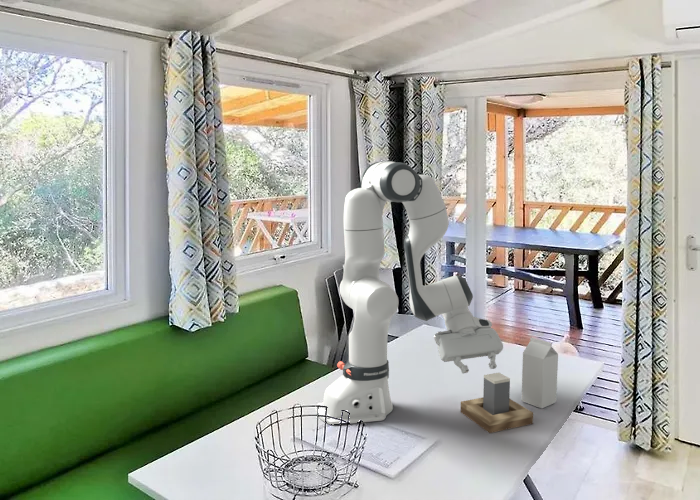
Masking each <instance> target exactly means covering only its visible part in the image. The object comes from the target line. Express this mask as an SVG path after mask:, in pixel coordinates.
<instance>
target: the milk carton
mask: <svg viewBox="0 0 700 500" xmlns="http://www.w3.org/2000/svg"><path fill="white" fill-rule="evenodd" d="M552 344H553V343H552V342H549V341H546V340H542V339H538V338H536V337H535V338H534V337H530V341H529V343H528V344H527V345H526V347H525V349H524V350H523V352H522V369H521V370H522V372H521V375H522V376H521V401H522V402H524V403H525V404H529V405H532V406H534V407H536V408H538V409H544V408H546V407H549V406H551V405H553V404H555V403H557V394H558V393H557V390H558V387H557V386H558V370H559V369H558V368H559V352H557V351H556V350H555V349H554V347H553V346H552Z"/></svg>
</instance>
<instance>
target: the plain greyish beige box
mask: <svg viewBox="0 0 700 500" xmlns="http://www.w3.org/2000/svg"><path fill="white" fill-rule="evenodd" d="M510 386H511V378H510V377H508V376H506V375H504V374H502V373H501V372H494V373H487V374H484V375H483V397H482V398H483V409H484V410H486V411H487V412H489V413H490V414H492V415H496V414H501V413H506V412H509V399H510V395H511V394H510V393H511V392H510V391H511V387H510Z"/></svg>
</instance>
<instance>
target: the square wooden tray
mask: <svg viewBox="0 0 700 500" xmlns="http://www.w3.org/2000/svg"><path fill="white" fill-rule="evenodd" d="M460 413H461V414H462V415H463V416H466V418H468V419H469V420H471V421H472V422H473V423H474V424H476V425H478V426H479V427H480V428H482V429H483V430H484V431H486V432H487V433H489V434H492V433H497V432H501V431H506V430H510V429H515V428H520V427H525V426H529V425H533V424H534V411H532V410H530V409H528V408H526V407H524V406H523V405H521V404H519V403H518V402H516V401H514V400H513V399H511V398H509V412H506V413H501V414H496V415H492V414H490V413H489V412H487V411H486V410H484V409H483V397H478V398H473V399H467V400H463V401H462V400H461V401H460Z"/></svg>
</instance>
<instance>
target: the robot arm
mask: <svg viewBox="0 0 700 500" xmlns="http://www.w3.org/2000/svg"><path fill="white" fill-rule="evenodd" d="M387 202H389V203H391V202H394V203H402V204H403V206H404V208H405V211H406V216H407V218H408V221H409V230H408V234H407V236H406V237H405V238H404V241H403V250H404V259H405V261H404V262H405V268H406V274H407V282H408V284H407V285H408V291H409V293H408V295H409V299H408V300H409V301H408V302H409V308H410V311H411V313H412V314H413V316H414V317H415V318H417V319H419V320H421V321H425V322H427V321H429V320H432V319H434V318H437V316H438V317H439V316H440V315H441V316H442V317H443V319H444V325H445V328H446V330H443V331H442V330H441V331H437V332H436V333H435V334H434V336H433V337H434V342H435V344H436V345H437V350H438V351H437V352H438V354H439V355H438V356H439V357H440V360H441V361H443V362H444V363H447V362H448V363H449V362H453V363H454V365H455V366H456V367H458V369H460V371H461V374H467V373H469V372H470V370H469V366H468V364H466V365H465V364H464V363H463V362H462V360H469V359H475V358H480V357H481V358H482V357H487V359H490V361H489V363H488V364H487V365H488V368H489V369H490V370H494V369H495V370H496V368H497V363H496V356H497V355H499V354H500V353H502V351H503V349H504V344H503V341H502V340H501V338H500V336H499V334H498V332H497V330H495V329H494V328H493V323H492V321H491V320H489V319H485V318H480V317H476V316H474V315H473V313H472V312H471V311H470V310H469V306H470V305H471V303H472V301H473V299H474V295H473V292H472V290H471V288H470V287H469V284H468V282H467V281H468V280H467V279H466V278H464V277H462V276H459V275H453V276H448V277H446V278H443V279H441V280H438V281H435V282H433V283H429V284H427V285H423V279H422V278H423V277H422V271H421V268H422V267H421V262H422V261H421V260H422V258H423V256H424V255H425V254H426V253H427V251H429V250H430V249H431V248H432V247H434V246H435V245H436V244H437V243H438V242H440V241H441V240H442V238H443V237H444V236H445V235H446V233H447V231H448V228H449V226H450V225H449V216H448V211H447V207H446V205H445V202H444V199H443V197H442V193H441V192H440V189H439V187H438V185H437V183H436V181H435V180H434V178H433V177H431V176H430V175H427V174H418V173H417V172H416V171H415V169H414V168H413V167H411V166H410V165H409V164H407V163H404V162H400V161H399V162H398V161H397V162H396V161H391V160H384V161H376V162H373V163H371V164H369V165H368V166H367V167H366V168H365V169H364V171H363V172H362V175H361V178H360V181H359V183H358V186H357V188H354V189H352V190H350V191H349V192H348V193H347V194H346V196H345V199H344V206H343V235H344V236H343V237H344V238H343V239H344V254H345V255H344V267H343V273H342V274H343V275H342V280H341V281H340V284H339V290H338V291H339V295H340V296H341V300H342V302H344V304H345V305H346V306H348V307H349V308H350V309H352V310H353V312H354V321H353V326H352V328H351V331H350V332H349V334H348V360H347V362H346V363H344V362H343V361H341V360H340V361H338V363H337V364H336V366H337V368H338V369H339V370H341V371H342V374H341V375H340V376H339V377H338V378H336V379H335V381H333V382H331V384H329V386H327V387H326V388H325V390H324V392H323V393H324V394H323V399H322V400H323V401H322V402H318V403H317V404H316V405H325V406H327V407H328V408H327V415H328V416H332V417H335V418H339V419H340V418H341V413H342V411H341V410H348V411H349V412H350V415H349V417H350V418H349V421H350V424H357V422H358V421H359V420H360V419H361V420H362V421H363V422H362V423H369V422H380V421H384V420H385V419H386V417H387V416H388V415H389V414H391V412H392V411H393V409H394V406H393V402H392V399H391V394H390V387H389V378H390V377H389V376H390V365H389V363H390V362H389V360H388V334H389V329H390V325H391V321H392V318H393V317H394V316H395V314H396V313H397V311H398V308H399V301H400V300H399V297H398V295H397V292H395V290H394V289H393V288H392V287H391V286H390V285H389V284H388V283H387V282H385V281H383V280H380V275H379V274H380V269H381V267H380V266H381V263H382V260H383V259H384V257H385V252H386V251H385V234H384V231H385V230H384V219H383V218H384V217H383V215H384V214H383V213H384V208H385V205H386V204H387ZM325 411H326V410H325V408H319V409H318V413H319V415H325ZM315 413H317V409H316V408H315ZM318 418H319V419H320V420H321V421H322V422H325V418H324V417H318ZM342 418H343V420H346V421H347V420H348V413H347V412H345V411H343V417H342ZM339 422H340V421H338V420H335V419H332V418H327V423H326V422H325V423H326V424H328V425H331V424H332V426H335V425H334V424H339Z"/></svg>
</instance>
